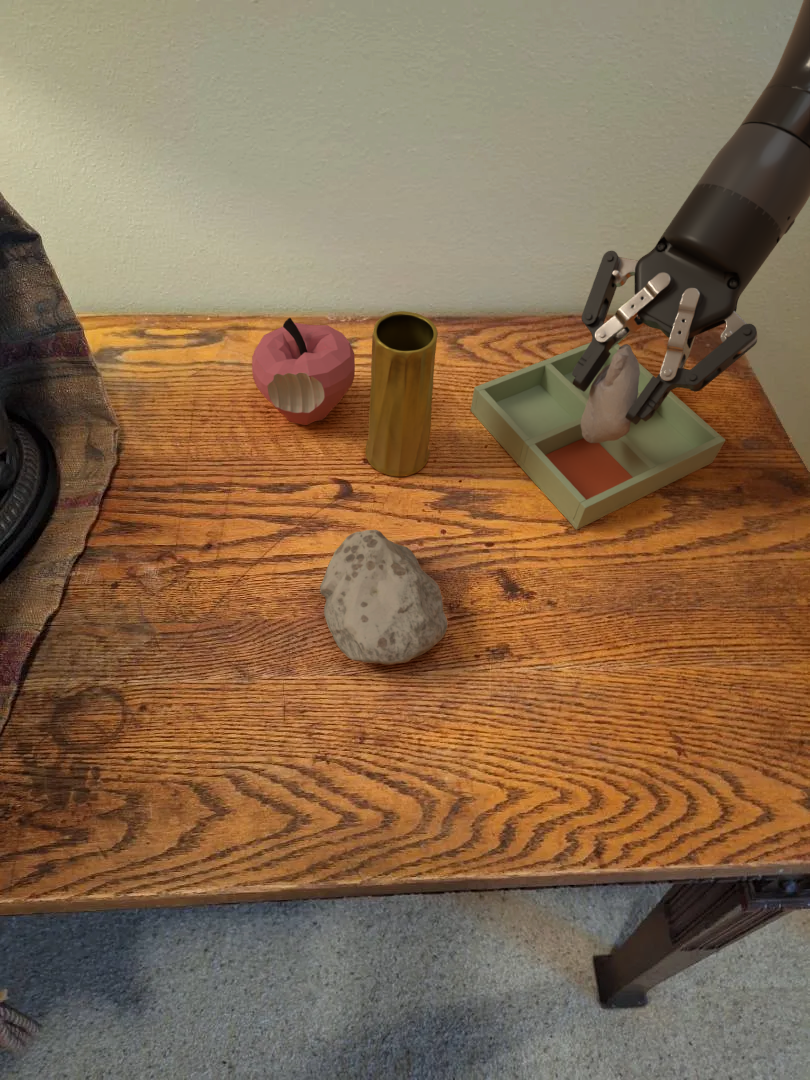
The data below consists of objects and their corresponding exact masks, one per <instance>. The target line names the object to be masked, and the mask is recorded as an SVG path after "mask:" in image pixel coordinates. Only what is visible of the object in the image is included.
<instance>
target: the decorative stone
mask: <svg viewBox="0 0 810 1080" xmlns="http://www.w3.org/2000/svg"><path fill="white" fill-rule="evenodd" d="M319 586H320V587H319V592H320V594H321V595H322V596H323V597H324V598H325V604H324V607H323V616H324V619H325V621H326V622H325V623H326V625H327V628H328V630H329V632H330V633H331V635H332V638H333V640H334V642H335V643H336V645H337V647H338V648H339V650H340V651H341V652H342V653H343V654H344V655H345V657H347V658H348V659H349V660H351V661H355V662H362V663H366V664H382V665H395V664H405V663H408V662H410V661H411V660H412V659H414V658H417V657H420V656H422V655H424V654H426V653H427V652H429V651H430V650H431V649H432V648H434V647H435V646H436V644H438V643H439V642H440V641H441V640H442V639H443V638H445V635H446V633H447V630H448V625H449V622H448V618H447V616H446V614H445V612H444V602H443V595H442V591H441V588H440V586H439V584H438V583H437V581H436V580H434V579H433V577H431V576H430V575H428V573H426V572H425V571H424V570H423V569H422V567H421V565H420V563H419V561H418V559H417V556H416V555H415V554H414V552H413V551H412V550H411V549H410V548H409V547H407V546H405V545H402V544H398V543H395V542H393V541H391V540H390V539H388V537H386V536H385V535H384V534H383V533H382V532H381V531H379V530H378V529H366V530H365V529H364V530H362V531H355V532H353V533H351V534H349V535H347V536H346V537H345V539H344V540H343V541H342V542H341V544H339V546H338V547H337V548H335V551H334V552H333V555H332V557H331V559H330V561H329V563H328V564H327V567H326V569H325V573H324V575H323V578H322V581H321V583H320V585H319Z"/></svg>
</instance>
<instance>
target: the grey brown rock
mask: <svg viewBox="0 0 810 1080" xmlns="http://www.w3.org/2000/svg"><path fill="white" fill-rule="evenodd" d="M620 346H621V347H619V350H617V352H616V353H615V354H614V355H613V357H612V362H611V363H610V364H609V365H607V366H605V367H604V368H603V369H602V371H601V372H600V373H599V374H598V375H597V377H596V379H595V380H594V382H593V383H592V385H591V388H590V393H589V399H588V401H587V404H586V407H585V410H584V413H583V415H582V419H581V429H582V435H583V437H584V439H585V440H586V441H587V442H589V443H601V442H605V441H615V440H618V439H619V438H621V437H623V436H624V435H626V434H627V433H628V432H629V429H630V423H631V422H630V421H629V420H628V419H626V418H625V416H626V414H627V412H628V411H629V409H630V408H631V407H632V405H633V404H634V402H635V401H636V400H637V397H638V385H639V376H640V369H639V363H640V362H639V360H638V358H637V357H636V355H635V354H634V351H633V349H632V346H631V345H630V344H628V343H624V344H622V345H620ZM638 362H639V363H638Z"/></svg>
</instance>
